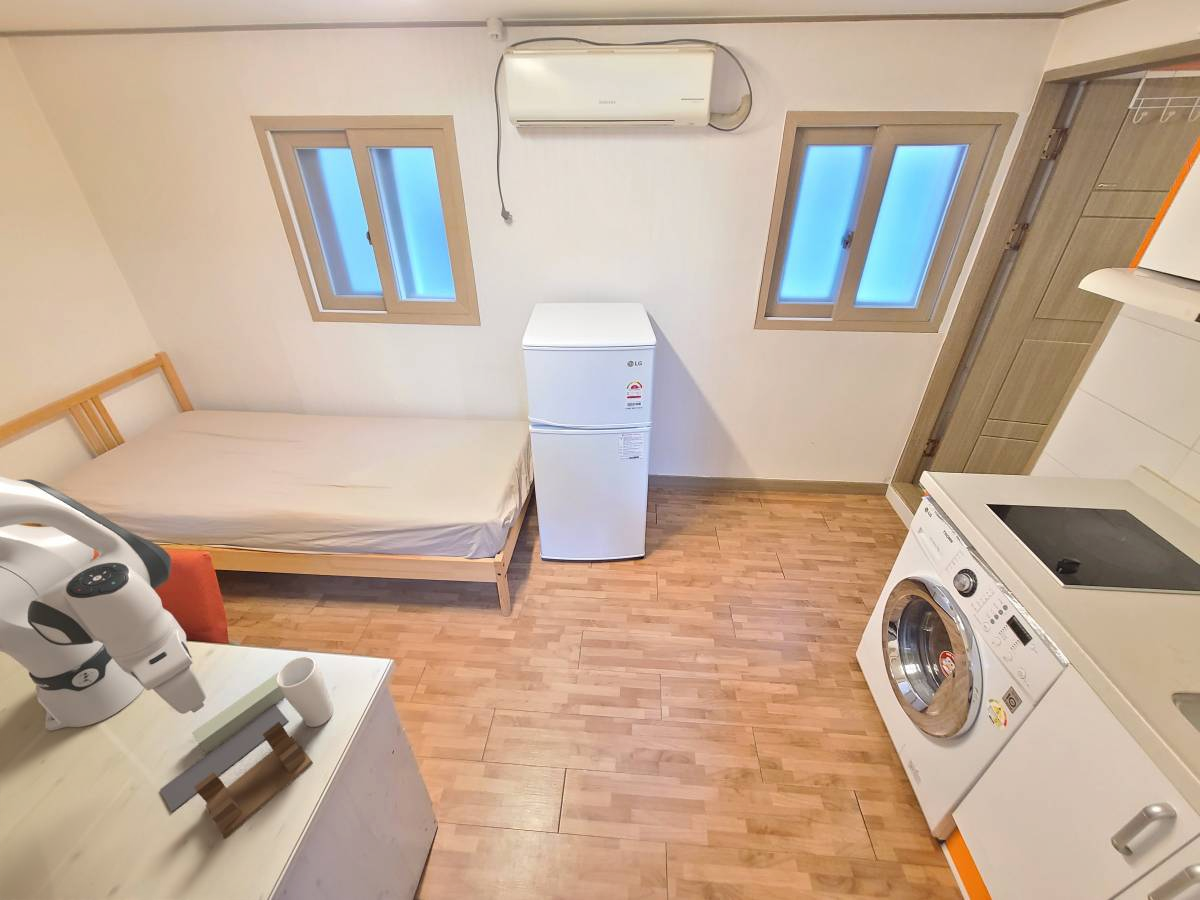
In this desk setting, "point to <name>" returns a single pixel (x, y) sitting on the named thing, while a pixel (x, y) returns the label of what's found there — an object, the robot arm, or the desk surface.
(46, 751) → the desk surface
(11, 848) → the desk surface
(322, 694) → the drinking glass
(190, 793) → the pad
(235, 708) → the clay strip
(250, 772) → the rack
